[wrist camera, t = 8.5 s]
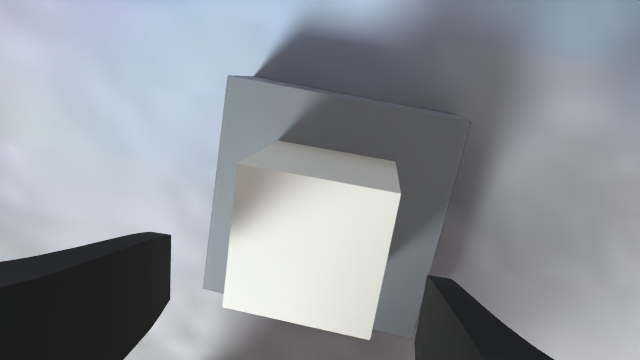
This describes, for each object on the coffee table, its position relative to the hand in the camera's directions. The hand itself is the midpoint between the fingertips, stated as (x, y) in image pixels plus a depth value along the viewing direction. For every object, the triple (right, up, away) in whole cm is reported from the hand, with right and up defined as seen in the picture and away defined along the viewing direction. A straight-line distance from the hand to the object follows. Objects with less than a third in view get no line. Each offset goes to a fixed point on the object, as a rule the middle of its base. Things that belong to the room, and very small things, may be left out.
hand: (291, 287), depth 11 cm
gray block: (+1, +2, +10) cm, 11 cm away
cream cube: (+1, +2, +6) cm, 7 cm away
